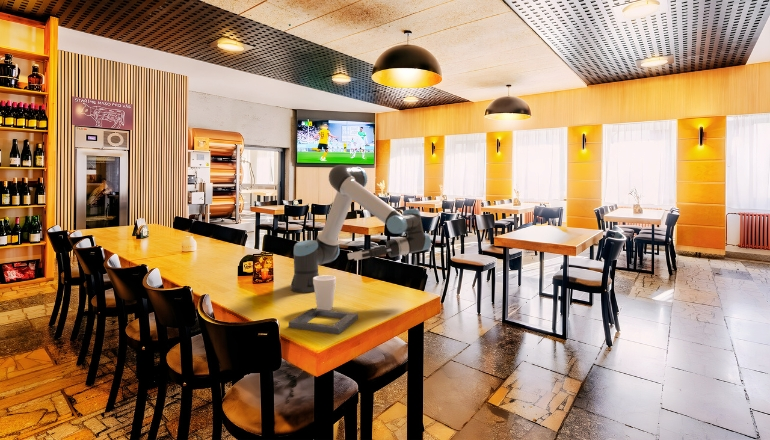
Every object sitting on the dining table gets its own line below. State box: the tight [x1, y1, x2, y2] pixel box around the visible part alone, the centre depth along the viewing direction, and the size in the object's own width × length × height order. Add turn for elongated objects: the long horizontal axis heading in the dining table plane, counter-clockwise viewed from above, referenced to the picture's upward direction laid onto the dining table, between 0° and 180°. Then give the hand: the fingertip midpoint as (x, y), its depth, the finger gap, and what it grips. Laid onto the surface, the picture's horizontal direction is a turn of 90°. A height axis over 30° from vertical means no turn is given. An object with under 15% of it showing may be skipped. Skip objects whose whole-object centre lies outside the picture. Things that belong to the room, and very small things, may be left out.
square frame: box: [288, 308, 359, 335], centre depth 148 cm, size 20×17×2 cm
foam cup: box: [313, 274, 337, 311], centre depth 165 cm, size 10×9×13 cm
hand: (350, 257), depth 171 cm, fingers open, 13 cm apart
